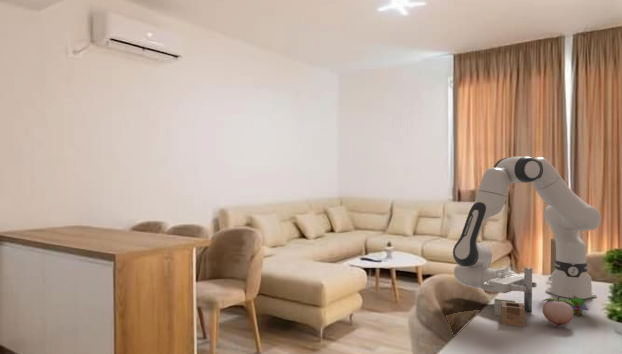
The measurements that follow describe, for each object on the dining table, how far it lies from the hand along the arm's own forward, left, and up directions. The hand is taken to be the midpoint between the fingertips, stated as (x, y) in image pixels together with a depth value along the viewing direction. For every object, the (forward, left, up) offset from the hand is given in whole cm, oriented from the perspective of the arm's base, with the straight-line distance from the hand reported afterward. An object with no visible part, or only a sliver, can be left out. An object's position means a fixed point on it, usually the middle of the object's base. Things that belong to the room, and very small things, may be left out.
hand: (530, 287), depth 161 cm
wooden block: (-64, +20, -9) cm, 68 cm away
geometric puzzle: (-3, +15, -9) cm, 18 cm away
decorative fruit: (+14, +7, -9) cm, 18 cm away
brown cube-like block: (+16, -7, -9) cm, 19 cm away
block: (+6, -9, -9) cm, 14 cm away
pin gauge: (0, -1, -9) cm, 9 cm away
